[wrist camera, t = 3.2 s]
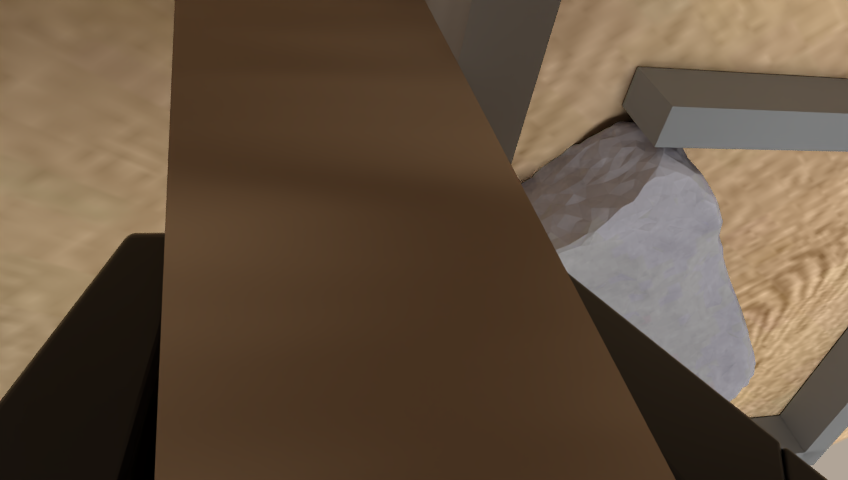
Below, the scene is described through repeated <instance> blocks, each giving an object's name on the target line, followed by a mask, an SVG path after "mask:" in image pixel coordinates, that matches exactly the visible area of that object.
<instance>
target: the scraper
mask: <svg viewBox="0 0 848 480" xmlns="http://www.w3.org/2000/svg"><path fill="white" fill-rule="evenodd" d="M560 2H561V0H175V13H174V37H173V60H172V83H171V107H170V130H169V153H168V177H167V200H166V223H165V247H164V270H163V293H162V317H161V340H160V363H159V387H158V410H157V433H156V457H155V480H676V479H675V477H674V476H673V474H672V472H671V470H670V468H669V466H668V464H667V462H666V460H665V458H664V456H663V455H662V453H661V451H660V449H659V447H658V445H657V443H656V441H655V439H654V437H653V435H652V433H651V432H650V430H649V428H648V426H647V424H646V422H645V420H644V418H643V416H642V414H641V412H640V411H639V409H638V407H637V405H636V403H635V401H634V399H633V397H632V395H631V393H630V391H629V390H628V388H627V386H626V384H625V382H624V380H623V378H622V376H621V374H620V372H619V370H618V368H617V367H616V365H615V363H614V361H613V359H612V357H611V355H610V353H609V351H608V349H607V347H606V346H605V344H604V342H603V340H602V338H601V336H600V334H599V332H598V330H597V328H596V326H595V325H594V323H593V321H592V319H591V317H590V315H589V313H588V311H587V309H586V307H585V305H584V304H583V302H582V300H581V298H580V296H579V294H578V292H577V290H576V288H575V286H574V284H573V282H572V281H571V279H570V277H569V275H568V273H567V271H566V269H565V267H564V265H563V263H562V261H561V260H560V258H559V256H558V254H557V252H556V250H555V248H554V246H553V244H552V242H551V240H550V239H549V237H548V235H547V233H546V231H545V229H544V227H543V225H542V223H541V221H540V219H539V217H538V216H537V214H536V212H535V210H534V208H533V206H532V204H531V202H530V200H529V198H528V196H527V195H526V193H525V191H524V189H523V187H522V185H521V183H520V181H519V179H518V177H517V175H516V174H515V172H514V170H513V168H512V166H511V163H512V160H513V156H514V153H515V150H516V146H517V143H518V140H519V137H520V133H521V130H522V127H523V123H524V120H525V117H526V114H527V110H528V107H529V104H530V100H531V97H532V94H533V91H534V87H535V84H536V81H537V78H538V74H539V71H540V68H541V64H542V61H543V58H544V55H545V51H546V48H547V45H548V41H549V38H550V35H551V32H552V28H553V25H554V22H555V18H556V15H557V12H558V9H559V5H560Z"/></svg>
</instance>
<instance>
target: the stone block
mask: <svg viewBox="0 0 848 480" xmlns="http://www.w3.org/2000/svg"><path fill="white" fill-rule="evenodd" d="M521 185H522V187H523V189H524V191H525V193H526V195H527V196H528V198H529V200H530V202H531V204H532V206H533V208H534V210H535V212H536V214H537V216H538V217H539V219H540V221H541V223H542V225H543V227H544V229H545V231H546V233H547V235H548V237H549V239H550V240H551V242H552V244H553V246H554V248H555V250H556V252H557V254H558V256H559V258H560V260H561V261H562V263H563V265H564V267H565V269H566V271H567V273H569V274H570V275H571V276H572V277H574V278H575V279H576V280H577V281H579V282H580V283H581V284H582V285H584V286H585V287H586V288H588V289H589V290H590V291H591V292H593V293H594V294H595V295H596V296H598V297H599V298H600V299H601V300H603V301H604V302H605V303H606V304H608V305H609V306H610V307H611V308H613V309H614V310H615V311H616V312H618V313H619V314H620V315H621V316H623V317H624V318H625V319H626V320H628V321H629V322H630V323H631V324H633V325H634V326H635V327H636V328H638V329H639V330H640V331H641V332H643V333H644V334H645V335H646V336H648V337H649V338H650V339H651V340H653V341H654V342H655V343H656V344H658V345H659V346H660V347H661V348H663V349H664V350H665V351H666V352H668V353H669V354H670V355H671V356H673V357H674V358H675V359H676V360H678V361H679V362H680V363H681V364H683V365H684V366H685V367H686V368H688V369H689V370H690V371H692V372H693V373H694V374H695V375H697V376H698V377H699V378H700V379H702V380H703V381H704V382H705V383H707V384H708V385H709V386H710V387H712V388H713V389H714V390H715V391H717V392H718V393H719V394H720V395H722V396H723V397H724V398H725V399H727V400H728V401H729V402H730V401H731V400H732V399H734V398H736V396H737V395H738V393H739V392H740V391H741V389H742V388H743V387H745V386H747V385H748V383H749V380H750V378H751V377H752V376H753V375H754V369H755V368H754V366H755V364H756V363H755V356H754V351H753V348H752V345H751V342H750V339H749V334H748V330H747V326H746V323H745V319H744V316H743V313H742V310H741V307H740V305H739V302H738V300H737V297H736V294H735V292H734V289H733V287H732V284H731V282H730V279H729V276H728V273H727V269H726V266H725V262H724V259H723V247H722V244H721V241H720V237H719V234H720V230H721V226H722V223H723V220H722V218H721V214H720V209H719V205H718V202H717V199H716V197H715V196H714V194H713V192H712V190H711V188H710V187H709V185H708V183H707V181H706V180H705V178H704V176H703V175H702V174H701V172H700V171H699V170H698V169H697V168H696V167H695V166H694V164H693V163H692V162H691V161H690V160H689V159H688V158H687V156H686V154H685V152H684V150H683V148H670V147H654V146H653V145H652V143H651V142H650V141H649V139H648V138H647V137H646V136H645V134H644V133H643V132H642V131H641V129H640V128H639V127H638V126H637V124H636V123H635V122H623V121H619V122H617V123H615V124H614V125H612V126H611V127H609V128H606V129H604V130H603V131H601V132H599V133H597V134H595V135H593V136H591V137H589V138H587V139H586V140H585V141H583V142H582V143H581V144H574V145H572V146H571V147H569V148H568V149H567V150H566V151H565V152H564V153H563V154H561V155H560V156H559V157H557V158H555V159H554V160H552V161H550V162H549V163H548V164H546V165H545V166H544V167H542V168H541V169H540V170H538V171H537V172H536V173H535V174H534V175H533V176H532V178H530V179H528V180H527V181H525V182H523V183H521Z"/></svg>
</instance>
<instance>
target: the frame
mask: <svg viewBox="0 0 848 480" xmlns="http://www.w3.org/2000/svg"><path fill="white" fill-rule="evenodd" d="M622 106H623V108H624V109H625V110H626V112H627V113H628V114H629V115H630V117H631V118H632V119H633V120H634V122H635V123H636V124H637V126H638V127H639V128H640V129H641V131H642V132H643V133H644V134H645V136H646V137H647V138H648V139H649V141H650V142H651V143H652V145H653V146H654V147H670V148H714V149H758V150H801V151H845V152H848V79H840V78H823V77H806V76H788V75H771V74H753V73H736V72H718V71H701V70H684V69H666V68H649V67H637V70H636V72H635V75H634V77H633V80H632V82H631V85H630V88H629V90H628V93H627V95H626V98H625V100H624V103H623V105H622ZM750 419H752V420H753V421H754V422H755V423H757V424H758V425H759V426H760V427H762V428H763V429H764V430H765V431H767V432H768V433H769V434H770V435H772V436H773V437H774V438H775V439H777V440H778V441H779V442H780V445H781V448H788V449H790V450H791V451H792V452H793V453H795V454H796V455H797V456H798V457H800V458H801V459H802V460H803V461H805V462H806V463H807V464H808V465H814V464H815V463H816V461H817V460H818V459H819V458H820V457H821V456H822V455H823V453H824V452H825V451H826V450H827V449H828V448H829V447H830V446H831V445H832V443H833V442H834V441H835V440H836V439H837V438H838V437H839V436H840V435H841V433H842V432H843V431H844V430H845V429H846V428H847V427H848V329H847V330H846V331H845V333H844V334H843V335H842V337H841V338H840V339H839V340H838V342H837V343H836V344H835V346H834V347H833V348H832V349H831V351H830V352H829V353H828V354H827V356H826V357H825V358H824V360H823V361H822V362H821V363H820V365H819V366H818V367H817V369H816V370H815V371H814V372H813V374H812V375H811V376H810V377H809V379H808V380H807V381H806V383H805V384H804V385H803V386H802V388H801V389H800V390H799V392H798V393H797V394H796V395H795V397H794V398H793V399H792V400H791V402H790V403H789V404H788V406H787V407H786V408H785V409H784V411H783V412H782V413H781V415H780V416H770V417H760V418H750Z"/></svg>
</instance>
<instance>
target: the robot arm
mask: <svg viewBox="0 0 848 480" xmlns="http://www.w3.org/2000/svg"><path fill="white" fill-rule="evenodd" d="M164 247H165V233H133V234H130V235H129V236H127V237H126V238H125V240H124V241H123V242H122V243H121V245H120V246H119V247H118V249H117V250H116V251H115V252H114V254H113V255H112V256H111V258H110V259H109V260H108V262H107V263H106V264H105V265H104V267H103V268H102V269H101V271H100V272H99V273H98V275H97V276H96V277H95V278H94V280H93V281H92V282H91V284H90V285H89V286H88V288H87V289H86V290H85V291H84V293H83V294H82V295H81V297H80V298H79V299H78V301H77V302H76V303H75V304H74V306H73V307H72V308H71V310H70V311H69V312H68V314H67V315H66V316H65V317H64V319H63V320H62V321H61V323H60V324H59V325H58V327H57V328H56V329H55V330H54V332H53V333H52V334H51V336H50V337H49V338H48V340H47V341H46V342H45V343H44V345H43V346H42V347H41V349H40V350H39V351H38V353H37V354H36V355H35V356H34V358H33V359H32V360H31V362H30V363H29V364H28V366H27V367H26V368H25V369H24V371H23V372H22V373H21V375H20V376H19V377H18V379H17V380H16V381H15V383H14V384H13V385H12V386H11V388H10V389H9V390H8V392H7V393H6V394H5V396H4V397H3V398H2V399H1V401H0V480H155V457H156V433H157V410H158V387H159V363H160V340H161V317H162V293H163V270H164ZM568 275H569V277H570V279H571V281H572V282H573V284H574V286H575V288H576V290H577V292H578V294H579V296H580V298H581V300H582V302H583V304H584V305H585V307H586V309H587V311H588V313H589V315H590V317H591V319H592V321H593V323H594V325H595V326H596V328H597V330H598V332H599V334H600V336H601V338H602V340H603V342H604V344H605V346H606V347H607V349H608V351H609V353H610V355H611V357H612V359H613V361H614V363H615V365H616V367H617V368H618V370H619V372H620V374H621V376H622V378H623V380H624V382H625V384H626V386H627V388H628V390H629V391H630V393H631V395H632V397H633V399H634V401H635V403H636V405H637V407H638V409H639V411H640V412H641V414H642V416H643V418H644V420H645V422H646V424H647V426H648V428H649V430H650V432H651V433H652V435H653V437H654V439H655V441H656V443H657V445H658V447H659V449H660V451H661V453H662V455H663V456H664V458H665V460H666V462H667V464H668V466H669V468H670V470H671V472H672V474H673V476H674V477H675V479H676V480H827V479H826V478H825V477H824V476H822V475H821V474H820V473H818V472H817V471H816V470H815V469H813V468H812V467H811V466H810V465H808V464H807V463H806V462H805V461H803V460H802V459H801V458H800V457H798V456H797V455H796V454H795V453H793V452H792V451H791V450H790V449H788V448H781V445H780V442H779V441H778V440H777V439H775V438H774V437H773V436H772V435H770V434H769V433H768V432H767V431H765V430H764V429H763V428H762V427H760V426H759V425H758V424H757V423H755V422H754V421H753V420H752V419H750V418H749V417H748V416H747V415H745V414H744V413H743V412H742V411H740V410H739V409H738V408H737V407H735V406H734V405H733V404H732V403H730V402H729V401H728V400H727V399H725V398H724V397H723V396H722V395H720V394H719V393H718V392H717V391H715V390H714V389H713V388H712V387H710V386H709V385H708V384H707V383H705V382H704V381H703V380H702V379H700V378H699V377H698V376H697V375H695V374H694V373H693V372H692V371H690V370H689V369H688V368H686V367H685V366H684V365H683V364H681V363H680V362H679V361H678V360H676V359H675V358H674V357H673V356H671V355H670V354H669V353H668V352H666V351H665V350H664V349H663V348H661V347H660V346H659V345H658V344H656V343H655V342H654V341H653V340H651V339H650V338H649V337H648V336H646V335H645V334H644V333H643V332H641V331H640V330H639V329H638V328H636V327H635V326H634V325H633V324H631V323H630V322H629V321H628V320H626V319H625V318H624V317H623V316H621V315H620V314H619V313H618V312H616V311H615V310H614V309H613V308H611V307H610V306H609V305H608V304H606V303H605V302H604V301H603V300H601V299H600V298H599V297H598V296H596V295H595V294H594V293H593V292H591V291H590V290H589V289H588V288H586V287H585V286H584V285H582V284H581V283H580V282H579V281H577V280H576V279H575V278H574V277H572V276H571V275H570V274H569V273H568Z"/></svg>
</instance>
